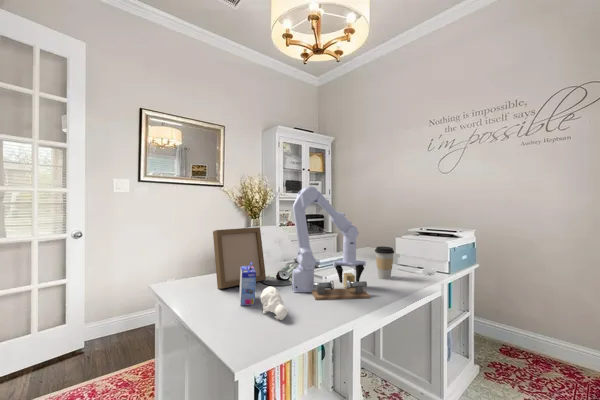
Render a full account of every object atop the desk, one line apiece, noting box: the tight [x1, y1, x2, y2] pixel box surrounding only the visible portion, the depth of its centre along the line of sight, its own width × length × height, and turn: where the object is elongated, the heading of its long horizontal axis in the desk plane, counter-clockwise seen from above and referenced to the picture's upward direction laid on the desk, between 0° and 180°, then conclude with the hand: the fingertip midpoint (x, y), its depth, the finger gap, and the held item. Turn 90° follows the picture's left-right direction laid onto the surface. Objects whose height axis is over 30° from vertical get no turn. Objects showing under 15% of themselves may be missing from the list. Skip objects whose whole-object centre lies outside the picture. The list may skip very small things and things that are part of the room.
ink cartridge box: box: [238, 262, 257, 307], centre depth 104 cm, size 10×6×14 cm, turn 15°
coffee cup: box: [374, 245, 395, 280], centre depth 138 cm, size 9×9×15 cm
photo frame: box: [212, 226, 267, 289], centre depth 128 cm, size 15×22×25 cm
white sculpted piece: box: [259, 286, 288, 321], centre depth 92 cm, size 6×8×12 cm
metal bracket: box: [269, 264, 298, 283], centre depth 137 cm, size 14×6×15 cm
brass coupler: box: [343, 272, 356, 288], centre depth 123 cm, size 5×4×6 cm
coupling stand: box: [311, 280, 371, 301], centre depth 112 cm, size 22×9×6 cm, turn 97°
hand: (349, 282), depth 123 cm, fingers open, 7 cm apart
